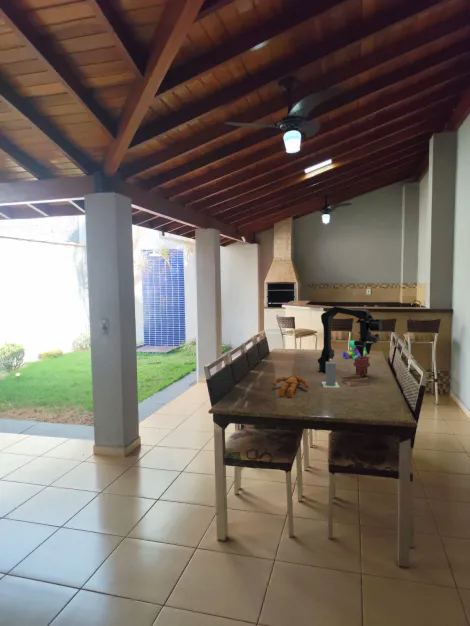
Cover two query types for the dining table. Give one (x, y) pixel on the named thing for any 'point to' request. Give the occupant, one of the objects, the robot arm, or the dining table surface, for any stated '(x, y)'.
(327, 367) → the slate block
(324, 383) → the sage mat
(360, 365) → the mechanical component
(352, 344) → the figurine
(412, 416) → the dining table surface
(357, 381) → the walnut rack
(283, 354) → the dining table surface
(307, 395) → the dining table surface
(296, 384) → the toy
